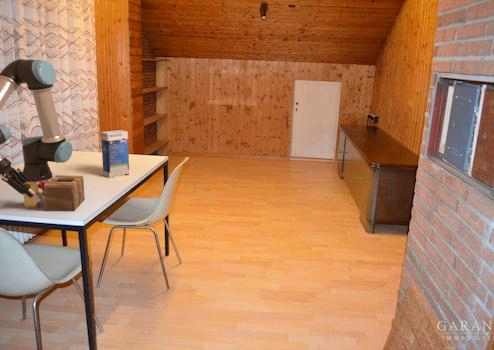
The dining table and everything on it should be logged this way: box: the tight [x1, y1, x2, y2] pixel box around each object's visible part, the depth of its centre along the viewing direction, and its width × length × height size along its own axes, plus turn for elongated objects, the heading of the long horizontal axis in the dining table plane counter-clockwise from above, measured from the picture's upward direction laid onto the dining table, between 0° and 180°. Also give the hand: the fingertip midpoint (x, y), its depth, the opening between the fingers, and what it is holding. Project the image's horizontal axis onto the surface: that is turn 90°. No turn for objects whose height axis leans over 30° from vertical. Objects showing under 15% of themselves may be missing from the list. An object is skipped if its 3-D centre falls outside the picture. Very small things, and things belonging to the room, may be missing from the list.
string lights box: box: [100, 129, 130, 179], centre depth 244 cm, size 13×8×26 cm, turn 137°
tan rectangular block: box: [23, 181, 41, 209], centre depth 188 cm, size 4×5×11 cm
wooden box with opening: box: [43, 174, 85, 212], centre depth 191 cm, size 16×12×12 cm
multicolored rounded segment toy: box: [38, 179, 49, 196], centre depth 207 cm, size 8×10×7 cm
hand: (40, 199), depth 189 cm, fingers closed on tan rectangular block, 3 cm apart
